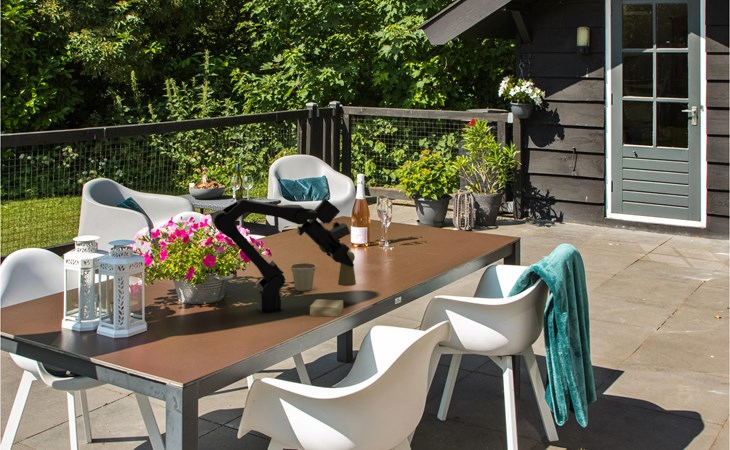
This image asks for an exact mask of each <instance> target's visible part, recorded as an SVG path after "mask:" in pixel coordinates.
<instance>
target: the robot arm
mask: <svg viewBox="0 0 730 450" xmlns="http://www.w3.org/2000/svg"><path fill="white" fill-rule="evenodd" d="M245 213H250V214H257V215H263V216H264V215H265V216H269V217H274V218H275V217H276V218H280V219H283V220H285V221H287V222H290V223H293V224H296V225H298V226H297V227H296V228H297V234H298V235H299V236H303V234H306V235H307V236H308V237H309V239H311V240H312V242H314V243H315V244H316V245H317V246H318V247H319V248H318V249H319V250H320V251H321V252H322V253H323V254H326V255H327V256H328V257H330V258H331V259H332V260H333V262H336V263H340V264H341V263H342V264H345V265H347V266H350V267H353V266H355V264H354V261H353V262H352V261H351V259H350V258H349V256H348V254H347V252H350V247H349V246H348V245H347V244H346V243H344V242H340V241H341V239H342V238H344V237H347V236H349V235H350V234H351V231H350V229H349V227H348V225H347V224H346V223H345V222H343V223H339V222H337V221H335V222H334V223H332V227H331V229H328V228H326V227H325V226H324V225H325V224H327V225H328V224H331V222H332V221H333V220H334V219H335V218H336V217H337V216H338V215H339V213H341V210H339V209H338V208H337V206H335V205H334V204H333V203H331V202H330V201H329V199H327V198H323V199H322V200H321V201H320V203H319V204H318V205H317V207H315V208H314V209H313V208H305V207H303V206H302V205H300V204H282V205H280V204H273V203H268V202H262V201H256V200H252V199H251V200H250V199H247V198H238V200H237V201H235V202H233V203H231V204H229V205H228V206H226V207H224V208H223V209H219V210H216V211H214V213H212V215H211V223H212V224H213V227H215V228H216V229H217V230H218V231H219V232H220V233H222V234H223V235H224V236H226V237H227V238H229V239H230V240H231V241H233V243H234V244H235V245H236V246H237V247H238V249H240V250H241V252H242V253H243V254H244V255H245V256H246V257H247V259H249V260H250V261H251V263H252V264H253V265H254V266H256V268H257V270H258V271H259V273H260V275H261V276H262V278H261V280H259V282H257V286H258V288H259V290H260V291H258V306H257V310H258V311H260V312H261V313H263V314H265V313H267V314H268V313H273V312H274V313H275V312H281V311H283V310H282V295H280V290H281V288H282V287H283V286H284V285H285V283H286V277H285V275H284V273H285V272H284V270H282V269H281V268H280V267H279V266H278V265H277V263H276V262H274V260H271V261H270V262H269V261H268V260H266V259H265V258H264V257H263V256H262V255H261V254H260V252H258V250H257V249H256V248H255V247H254V246H253V245H252V244H251V243H250V242H249V240H247V238H246V237H245V236H244V235H243V234H242V233H241V232H240V230H239V229H238V227H237V225H236V223H235V222H236V221H237V220H238V219H239V218H240V217H242V216H243V215H244V214H245ZM317 219H318V220H317ZM320 222H321V223H320ZM322 224H323V225H322Z"/></svg>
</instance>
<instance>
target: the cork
mask: <svg viewBox="0 0 730 450" xmlns="http://www.w3.org/2000/svg"><path fill="white" fill-rule="evenodd" d="M347 254H348V256H349V258H350V259H351V261H352V262H353V263H354V261H355V257H356V256H355V253H354V252H353V251H348V252H347ZM354 266H355V265H354ZM354 266H353V267H350V266H347V265H345V264H342V263H340V266H339V275H338V280H337V281H338V282H337V284H338V286H343V287H351V286H356V284H357V283H356V282H357V281H356V275H355V267H354Z"/></svg>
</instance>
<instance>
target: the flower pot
mask: <svg viewBox="0 0 730 450" xmlns="http://www.w3.org/2000/svg"><path fill="white" fill-rule="evenodd" d="M289 268H290V269H291V272H292V277H293V283H294V289H295V290H296V291H298V292H305V291H312V290H313V287H314V277H315V271H316V268H317V264H315V263H312V262H311V263H309V262H298V263H293V264H291V265H290V266H289Z"/></svg>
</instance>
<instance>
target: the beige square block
mask: <svg viewBox="0 0 730 450" xmlns="http://www.w3.org/2000/svg"><path fill="white" fill-rule="evenodd" d="M343 311H344V300H342V299H341V300H340V299H339V300H338V299H321V298H319V299H318V298H317V299H315V300H314V301H313V303H312V304H311V305H309V316H316V317H336V318H337V317H338V316H340V314H341V312H343Z"/></svg>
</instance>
